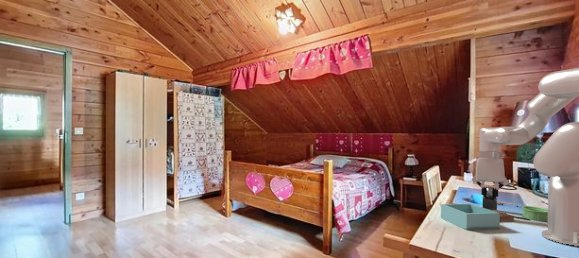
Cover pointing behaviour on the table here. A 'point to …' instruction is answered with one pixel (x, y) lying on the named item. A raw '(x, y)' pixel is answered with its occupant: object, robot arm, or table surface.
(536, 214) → the ramekin
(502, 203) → the adjustable wrench
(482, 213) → the bin
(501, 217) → the stud plate
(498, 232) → the table surface
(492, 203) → the square base knob
